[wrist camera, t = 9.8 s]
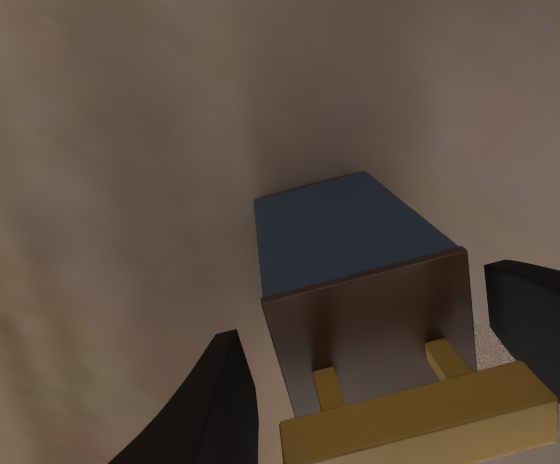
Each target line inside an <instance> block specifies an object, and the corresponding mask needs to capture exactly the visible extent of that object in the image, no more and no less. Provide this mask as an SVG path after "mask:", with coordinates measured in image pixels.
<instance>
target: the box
mask: <svg viewBox="0 0 560 464" xmlns="http://www.w3.org/2000/svg"><path fill="white" fill-rule="evenodd" d="M254 210H255V221H256V231H257V242H258V252H259V263H260V273H261V284H262V294H263V297H262V298H261V305H262V309H263V312H264V315H265V319H266V322H267V325H268V329H269V332H270V335H271V339H272V342H273V345H274V348H275V352H276V355H277V358H278V362H279V365H280V368H281V372H282V375H283V378H284V382H285V385H286V388H287V392H288V395H289V398H290V402H291V405H292V408H293V412H294V415H295V418H293V419H289V420H285V421H281V422H280V424H279V428H280V437H281V447H282V456H283V464H472V463H476V462H480V461H484V460H488V459H492V458H496V457H500V456H504V455H507V454H511V453H515V452H519V451H523V450H527V449H531V448H535V447H539V446H543V445H547V444H551V443H555V442H557V441H558V408H559V400H558V398H557V396H556V395H555V394H554V393H553V392H552V391H551V390H550V389H549V388H548V387H547V386H546V385H545V384H544V383H543V382H542V381H541V380H540V379H539V378H538V377H537V376H536V375H535V374H534V373H533V372H532V371H531V369H530V368H529V367H528V366H527V365H526V364H525V363H524V362H523V361H520V360H519V361H515V362H511V363H507V364H503V365H499V366H495V367H492V368H488V369H484V370H480V371H477V361H476V349H475V337H474V325H473V312H472V300H471V288H470V276H469V264H468V252H467V250H466V249H465V248H464V247H462V246H458V245H456V244H455V243H454V242H453V241H451V240H450V239H449V238H448V237H446V236H445V235H444V234H443V233H441V232H440V231H439V230H438V229H436V228H435V227H434V226H433V225H432V224H430V223H429V222H428V221H427V220H425V219H424V218H423V217H422V216H420V215H419V214H418V213H417V212H415V211H414V210H413V209H412V208H410V207H409V206H408V205H407V204H405V203H404V202H403V201H402V200H400V199H399V198H398V197H397V196H395V195H394V194H393V193H392V192H390V191H389V190H388V189H387V188H385V187H384V186H383V185H382V184H380V183H379V182H378V181H377V180H375V179H374V178H373V177H372V176H370V175H369V174H368V173H367V172H365V171H363V172H359V173H355V174H351V175H347V176H343V177H339V178H336V179H332V180H328V181H324V182H320V183H316V184H313V185H309V186H305V187H301V188H297V189H293V190H289V191H286V192H282V193H278V194H274V195H270V196H266V197H262V198H259V199H255V200H254Z"/></svg>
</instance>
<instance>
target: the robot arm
mask: <svg viewBox="0 0 560 464" xmlns="http://www.w3.org/2000/svg"><path fill="white" fill-rule="evenodd" d="M484 270H485V280H486V291H487V301H488V312H489V322H490V328H491V329H492V330H493V332H494V333H495V334H496V336H497V337H498V339H499V340H500V341H501V343H502V344H503V345H504V346H505V348H506V349H507V350H508V351H509V353H510V354H511V355H512V356H513V357H514V358H515V359H516V360H517V361H519V360H520V361H523V362H524V363H525V364H526V365H527V366H528V367H529V368H530V369H531V371H532V372H533V373H534V374H535V375H536V376H537V377H538V378H539V379H540V380H541V381H542V382H543V383H544V384H545V385H546V386H547V387H548V388H549V389H550V390H551V391H552V392H553V393H554V394H555V395H556V396H557V398H558V400H559V403H560V271H559V270H555V269H550V268H546V267H542V266H538V265H533V264H528V263H524V262H518V261H513V260H502V261H498V262H494V263H490V264H486V265H484ZM258 429H259V419H258V408H257V398H256V389H255V385H254V382H253V379H252V376H251V372H250V369H249V366H248V363H247V360H246V357H245V354H244V351H243V348H242V345H241V342H240V338H239V335H238V332H237V329H235V330H231V331H227V332H223V333H219V334H216V335H215V336H214V338H213V339H212V340H211V342H210V344H209V345H208V347H207V348H206V350H205V351H204V353H203V354H202V356H201V357H200V359H199V360H198V362H197V363H196V365H195V366H194V368H193V369H192V371H191V372H190V374H189V375H188V377H187V378H186V379H185V381H184V382H183V383H182V385H181V386H180V387H179V388H178V390H177V391H176V392H175V394H174V395H173V396H172V398H171V399H170V400H169V401H168V403H167V404H166V405H165V406H164V408H163V409H162V410H161V411H160V412H159V413H158V415H157V416H156V417H155V418H154V419H153V420H152V421H151V422H150V423H149V424H148V425H147V427H146V428H145V429H144V430H143V431H142V432H141V433H140V434H139V435H138V436H137V437H136V438H135V439H134V440H133V441H132V442H131V443H129V444H128V445H127V446H126V447H125V448H124V449H123V450H122V451H121V452H120V453H119V454H118V455H117V456H115V457H114V458H113V459H112V460H111V461H110V462H109V463H108V464H258Z"/></svg>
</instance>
